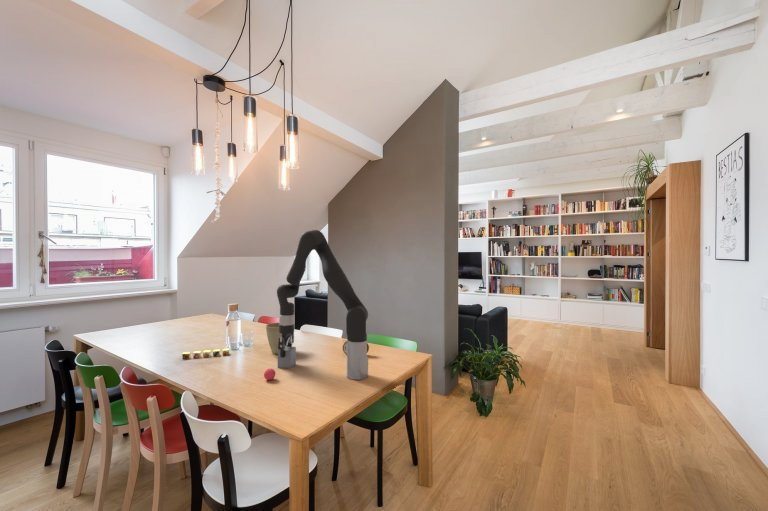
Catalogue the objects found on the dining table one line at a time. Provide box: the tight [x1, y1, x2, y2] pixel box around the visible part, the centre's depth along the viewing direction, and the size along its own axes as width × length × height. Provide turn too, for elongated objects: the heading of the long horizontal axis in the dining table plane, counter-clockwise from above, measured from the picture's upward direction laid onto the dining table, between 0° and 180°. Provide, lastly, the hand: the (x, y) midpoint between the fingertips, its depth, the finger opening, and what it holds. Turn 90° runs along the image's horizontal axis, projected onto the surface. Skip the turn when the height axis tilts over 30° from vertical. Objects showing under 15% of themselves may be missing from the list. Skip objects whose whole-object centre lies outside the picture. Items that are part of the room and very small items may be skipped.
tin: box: [342, 340, 370, 355], centre depth 189 cm, size 15×3×8 cm, turn 84°
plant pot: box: [265, 322, 287, 355], centre depth 193 cm, size 15×15×16 cm
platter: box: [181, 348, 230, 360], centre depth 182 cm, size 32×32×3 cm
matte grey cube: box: [277, 346, 297, 369], centre depth 170 cm, size 7×7×9 cm
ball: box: [263, 368, 277, 381], centre depth 151 cm, size 5×5×5 cm
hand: (286, 354), depth 170 cm, fingers open, 8 cm apart
